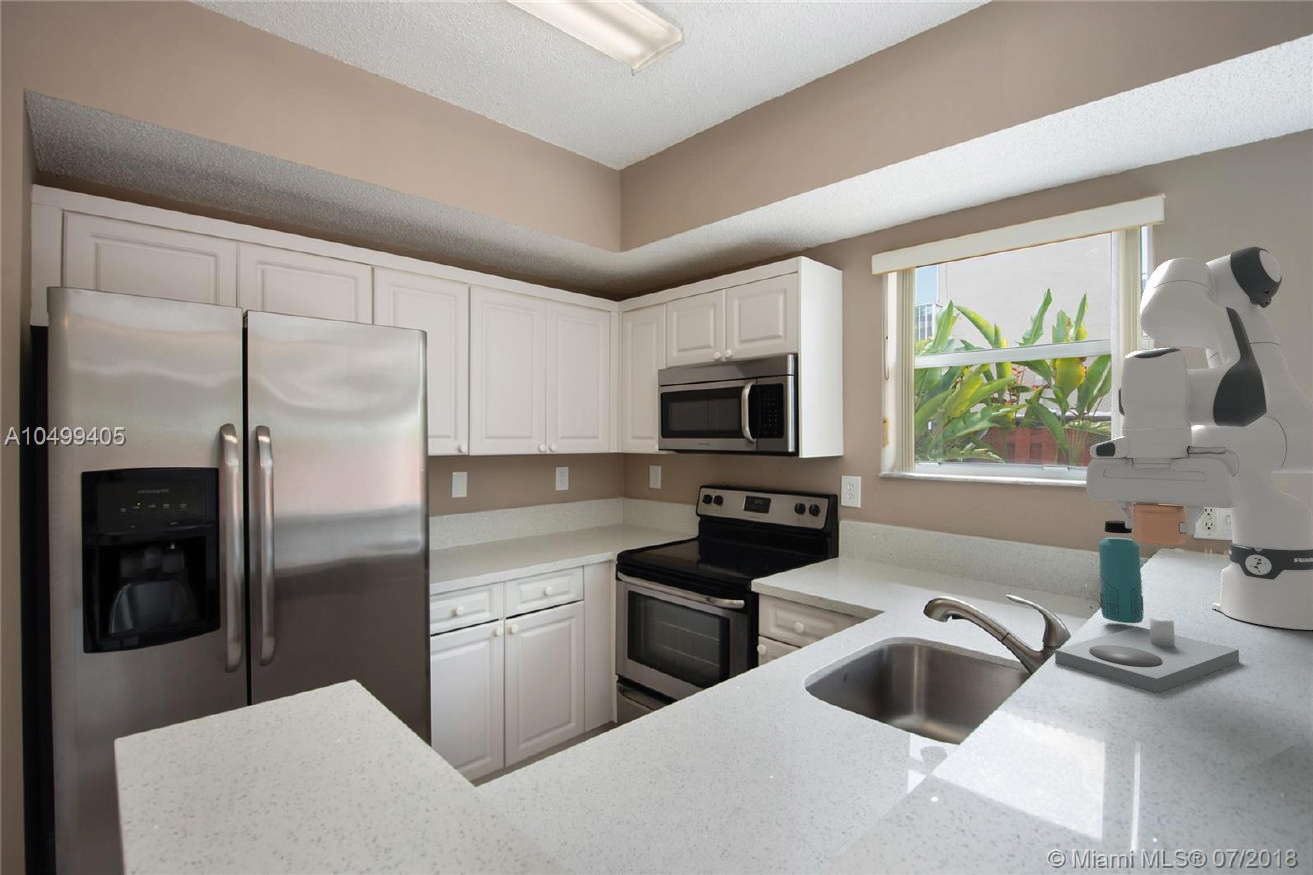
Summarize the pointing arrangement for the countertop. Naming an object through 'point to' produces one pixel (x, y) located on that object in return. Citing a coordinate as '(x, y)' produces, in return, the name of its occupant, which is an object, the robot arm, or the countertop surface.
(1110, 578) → the beverage bottle
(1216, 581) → the countertop surface
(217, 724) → the countertop surface
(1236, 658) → the mount
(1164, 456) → the robot arm
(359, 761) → the countertop surface
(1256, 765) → the countertop surface
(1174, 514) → the knob
